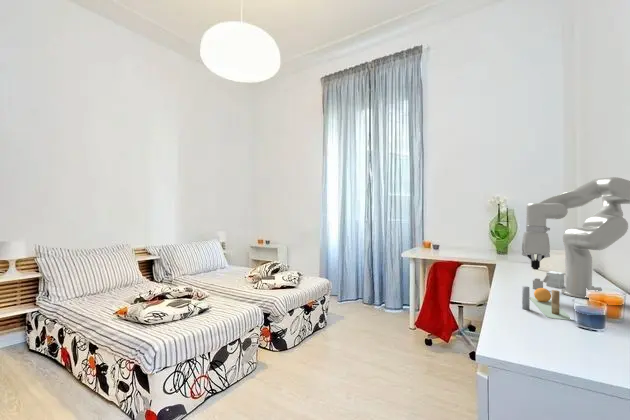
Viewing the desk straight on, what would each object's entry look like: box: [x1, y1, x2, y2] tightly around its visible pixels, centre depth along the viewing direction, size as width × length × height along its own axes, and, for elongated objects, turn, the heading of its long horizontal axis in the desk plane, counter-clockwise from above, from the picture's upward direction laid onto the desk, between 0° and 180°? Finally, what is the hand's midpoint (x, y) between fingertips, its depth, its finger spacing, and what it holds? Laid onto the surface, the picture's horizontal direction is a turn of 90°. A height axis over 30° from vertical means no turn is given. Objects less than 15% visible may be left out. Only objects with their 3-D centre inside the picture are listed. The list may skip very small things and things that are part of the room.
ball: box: [533, 287, 552, 302], centre depth 134 cm, size 6×6×6 cm
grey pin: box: [521, 285, 531, 311], centre depth 124 cm, size 2×2×9 cm
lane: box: [530, 297, 572, 321], centre depth 126 cm, size 28×8×1 cm, turn 157°
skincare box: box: [545, 270, 565, 289], centre depth 160 cm, size 6×6×7 cm
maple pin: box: [551, 289, 561, 315], centre depth 118 cm, size 2×2×9 cm
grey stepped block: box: [532, 274, 550, 290], centre depth 154 cm, size 7×2×8 cm, turn 52°
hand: (535, 269), depth 143 cm, fingers closed
